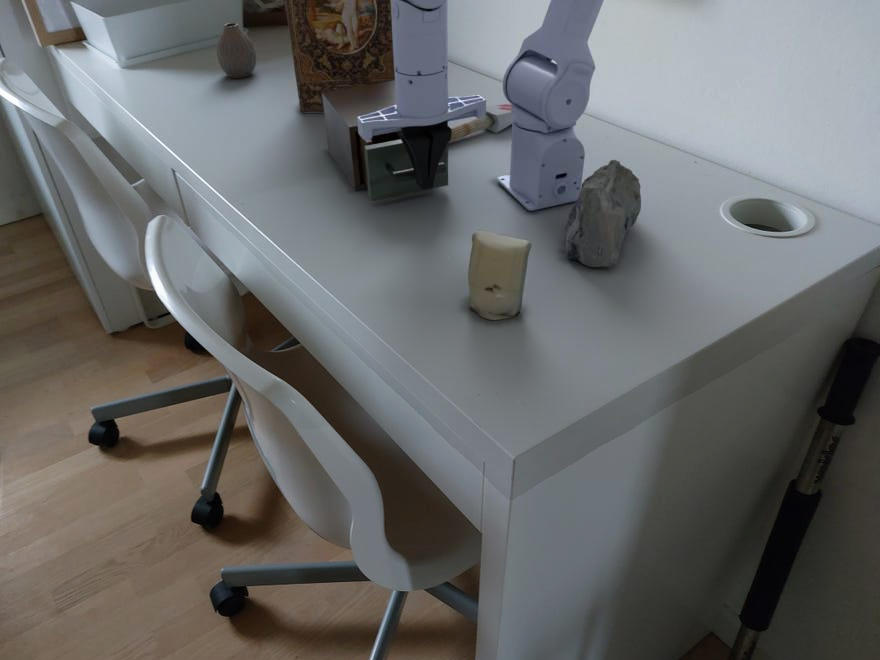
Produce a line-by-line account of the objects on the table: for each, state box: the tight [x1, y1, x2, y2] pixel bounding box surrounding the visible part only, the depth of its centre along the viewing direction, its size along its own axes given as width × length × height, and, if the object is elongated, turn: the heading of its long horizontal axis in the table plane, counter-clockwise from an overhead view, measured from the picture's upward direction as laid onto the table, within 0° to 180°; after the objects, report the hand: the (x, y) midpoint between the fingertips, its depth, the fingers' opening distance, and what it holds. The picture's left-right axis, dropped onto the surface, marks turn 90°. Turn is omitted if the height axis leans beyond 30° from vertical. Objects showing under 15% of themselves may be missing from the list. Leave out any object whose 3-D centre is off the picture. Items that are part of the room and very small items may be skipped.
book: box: [284, 0, 395, 114], centre depth 109 cm, size 16×6×25 cm, turn 84°
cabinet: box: [322, 81, 396, 192], centre depth 97 cm, size 14×12×9 cm
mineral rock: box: [564, 159, 642, 268], centre depth 78 cm, size 13×11×10 cm
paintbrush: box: [448, 102, 513, 144], centre depth 106 cm, size 4×3×20 cm
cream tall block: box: [467, 230, 532, 321], centre depth 69 cm, size 6×5×8 cm
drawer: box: [355, 131, 449, 202], centre depth 91 cm, size 17×10×7 cm, turn 19°
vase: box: [216, 22, 257, 79], centre depth 130 cm, size 7×7×9 cm
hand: (424, 185), depth 84 cm, fingers closed, pressing on drawer
